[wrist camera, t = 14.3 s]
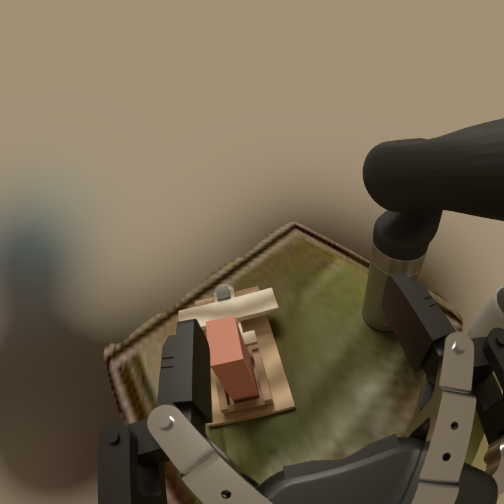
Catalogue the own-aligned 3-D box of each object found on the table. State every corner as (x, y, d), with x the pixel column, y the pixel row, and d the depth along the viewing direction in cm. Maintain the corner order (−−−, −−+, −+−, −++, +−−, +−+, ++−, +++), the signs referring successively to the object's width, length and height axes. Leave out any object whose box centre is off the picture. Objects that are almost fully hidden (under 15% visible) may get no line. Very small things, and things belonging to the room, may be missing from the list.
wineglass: (433, 365, 37) (483, 280, 24) (468, 364, 34) (523, 281, 22) (434, 404, 31) (498, 330, 19) (471, 401, 29) (540, 327, 16)
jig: (188, 307, 59) (177, 285, 55) (267, 287, 60) (263, 263, 56) (197, 428, 37) (181, 416, 33) (307, 404, 38) (307, 388, 34)
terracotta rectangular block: (229, 369, 44) (205, 321, 36) (252, 364, 44) (234, 314, 36) (236, 405, 39) (210, 365, 30) (260, 400, 39) (243, 358, 30)
